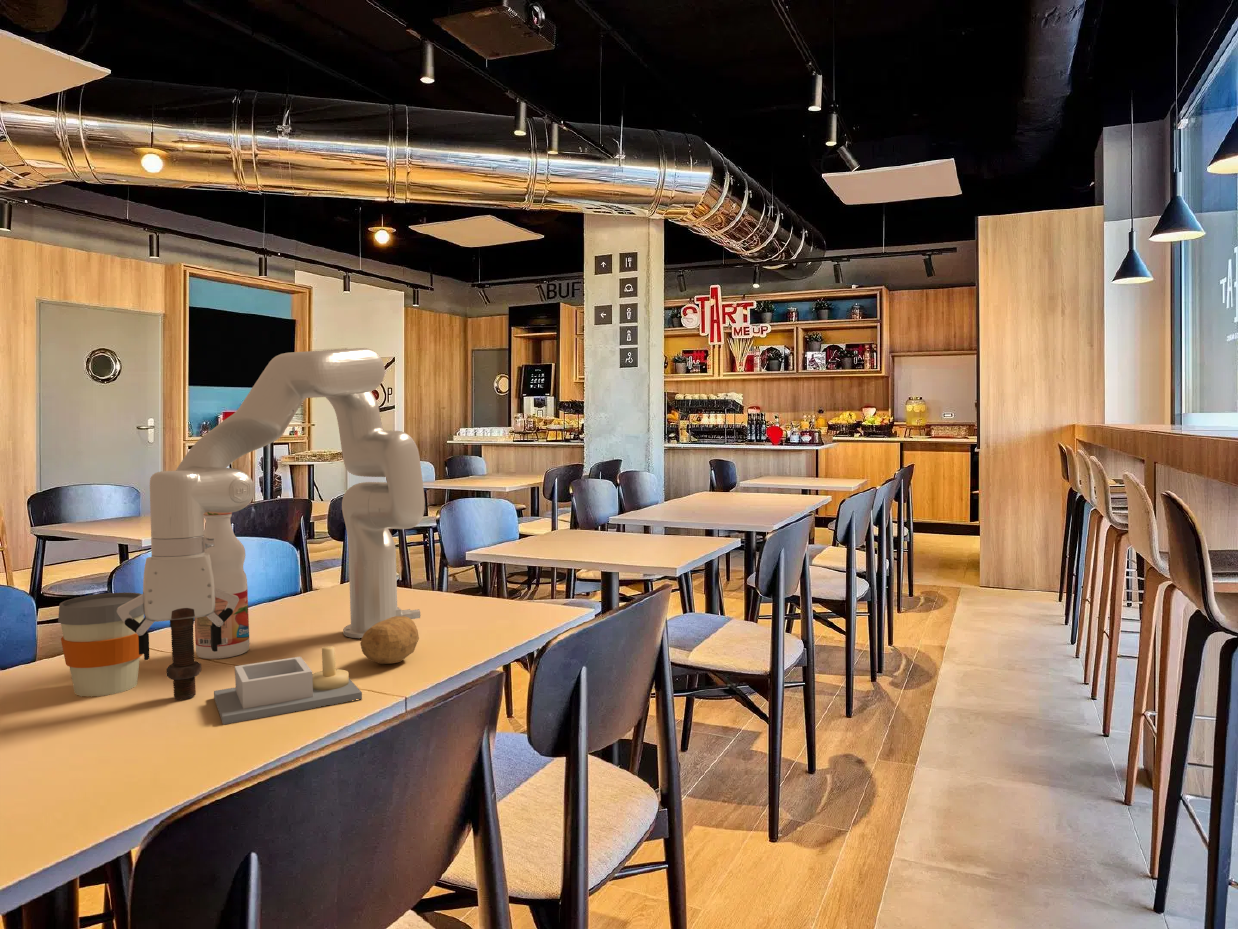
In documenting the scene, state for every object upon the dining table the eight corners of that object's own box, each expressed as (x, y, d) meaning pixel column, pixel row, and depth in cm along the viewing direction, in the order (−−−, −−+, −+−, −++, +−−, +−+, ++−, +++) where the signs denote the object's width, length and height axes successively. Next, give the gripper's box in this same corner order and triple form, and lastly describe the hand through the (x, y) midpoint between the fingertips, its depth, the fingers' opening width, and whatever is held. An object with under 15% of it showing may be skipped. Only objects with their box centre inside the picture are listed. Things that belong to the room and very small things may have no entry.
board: (342, 677, 144) (340, 636, 143) (362, 699, 132) (360, 654, 131) (214, 698, 134) (212, 654, 133) (222, 724, 122) (221, 676, 121)
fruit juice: (193, 651, 162) (187, 508, 161) (245, 644, 167) (240, 505, 166) (199, 662, 154) (193, 512, 153) (253, 654, 159) (248, 508, 158)
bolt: (176, 692, 137) (173, 602, 136) (208, 691, 137) (205, 601, 137) (160, 704, 131) (156, 610, 130) (193, 702, 131) (189, 609, 131)
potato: (430, 651, 160) (429, 610, 159) (403, 673, 146) (402, 628, 145) (381, 650, 161) (379, 609, 160) (350, 672, 147) (349, 627, 146)
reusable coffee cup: (85, 705, 131) (81, 611, 130) (46, 692, 138) (42, 603, 137) (164, 683, 142) (160, 596, 141) (125, 673, 148) (121, 589, 148)
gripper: (234, 541, 140) (237, 642, 141) (115, 549, 132) (118, 656, 132) (240, 546, 134) (242, 651, 135) (114, 555, 125) (118, 667, 126)
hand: (181, 654), depth 133 cm, fingers open, 9 cm apart
